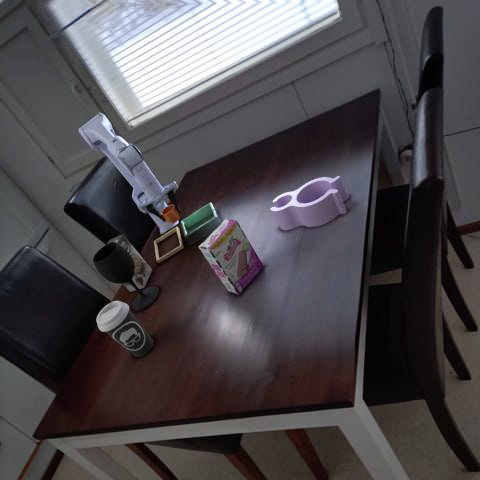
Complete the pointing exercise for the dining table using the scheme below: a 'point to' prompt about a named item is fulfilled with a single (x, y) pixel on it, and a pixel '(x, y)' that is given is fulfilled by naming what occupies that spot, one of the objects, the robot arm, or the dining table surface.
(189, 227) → the basin
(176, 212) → the bowl
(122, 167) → the robot arm
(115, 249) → the wine glass
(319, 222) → the clip
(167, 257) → the tray
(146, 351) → the coffee cup
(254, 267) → the candy bar box
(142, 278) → the coffee box
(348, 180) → the dining table surface
